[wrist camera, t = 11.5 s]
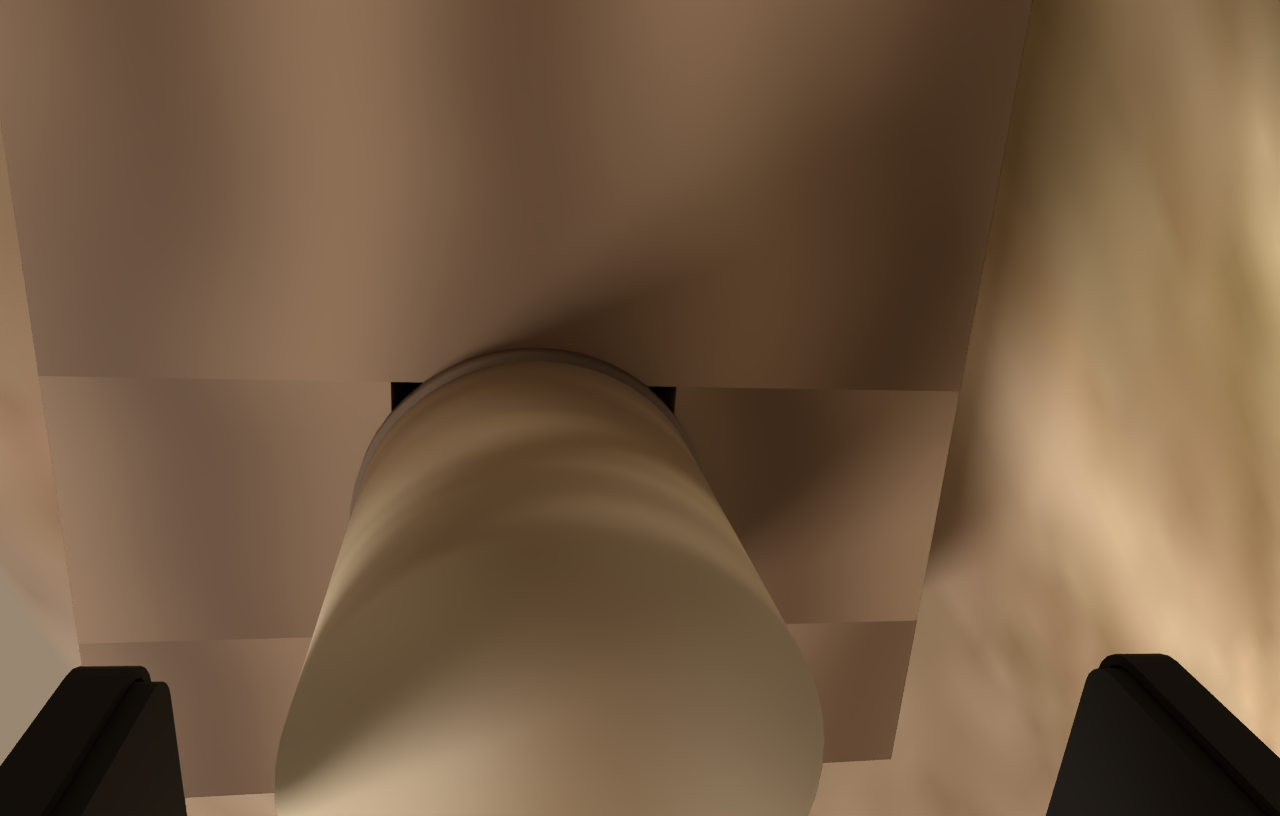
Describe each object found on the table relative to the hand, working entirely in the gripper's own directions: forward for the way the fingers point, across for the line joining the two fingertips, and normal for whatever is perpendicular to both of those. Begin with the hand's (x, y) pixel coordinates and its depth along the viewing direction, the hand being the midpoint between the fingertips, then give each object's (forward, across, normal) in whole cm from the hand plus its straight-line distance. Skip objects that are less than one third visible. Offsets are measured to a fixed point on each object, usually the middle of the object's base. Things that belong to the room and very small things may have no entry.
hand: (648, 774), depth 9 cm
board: (+13, +1, -3) cm, 13 cm away
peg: (+12, +1, +1) cm, 12 cm away
